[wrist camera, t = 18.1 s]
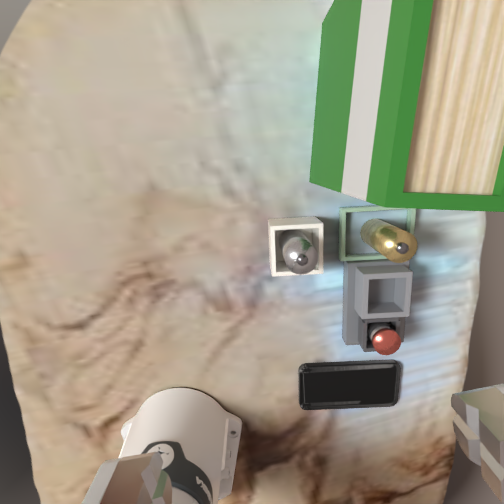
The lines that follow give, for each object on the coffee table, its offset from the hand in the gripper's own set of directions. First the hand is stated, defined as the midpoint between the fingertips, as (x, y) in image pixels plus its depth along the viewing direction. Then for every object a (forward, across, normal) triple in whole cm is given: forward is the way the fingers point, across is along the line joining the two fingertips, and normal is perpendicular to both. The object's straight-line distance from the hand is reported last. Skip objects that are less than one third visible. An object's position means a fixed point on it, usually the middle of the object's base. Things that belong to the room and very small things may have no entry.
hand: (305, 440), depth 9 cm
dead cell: (+35, -3, +4) cm, 35 cm away
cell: (+35, -14, +5) cm, 38 cm away
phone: (+36, -7, +28) cm, 46 cm away
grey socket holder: (+35, -13, +14) cm, 40 cm away
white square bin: (+35, -3, +4) cm, 35 cm away
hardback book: (+35, -13, -11) cm, 39 cm away
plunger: (+32, -12, +18) cm, 39 cm away
